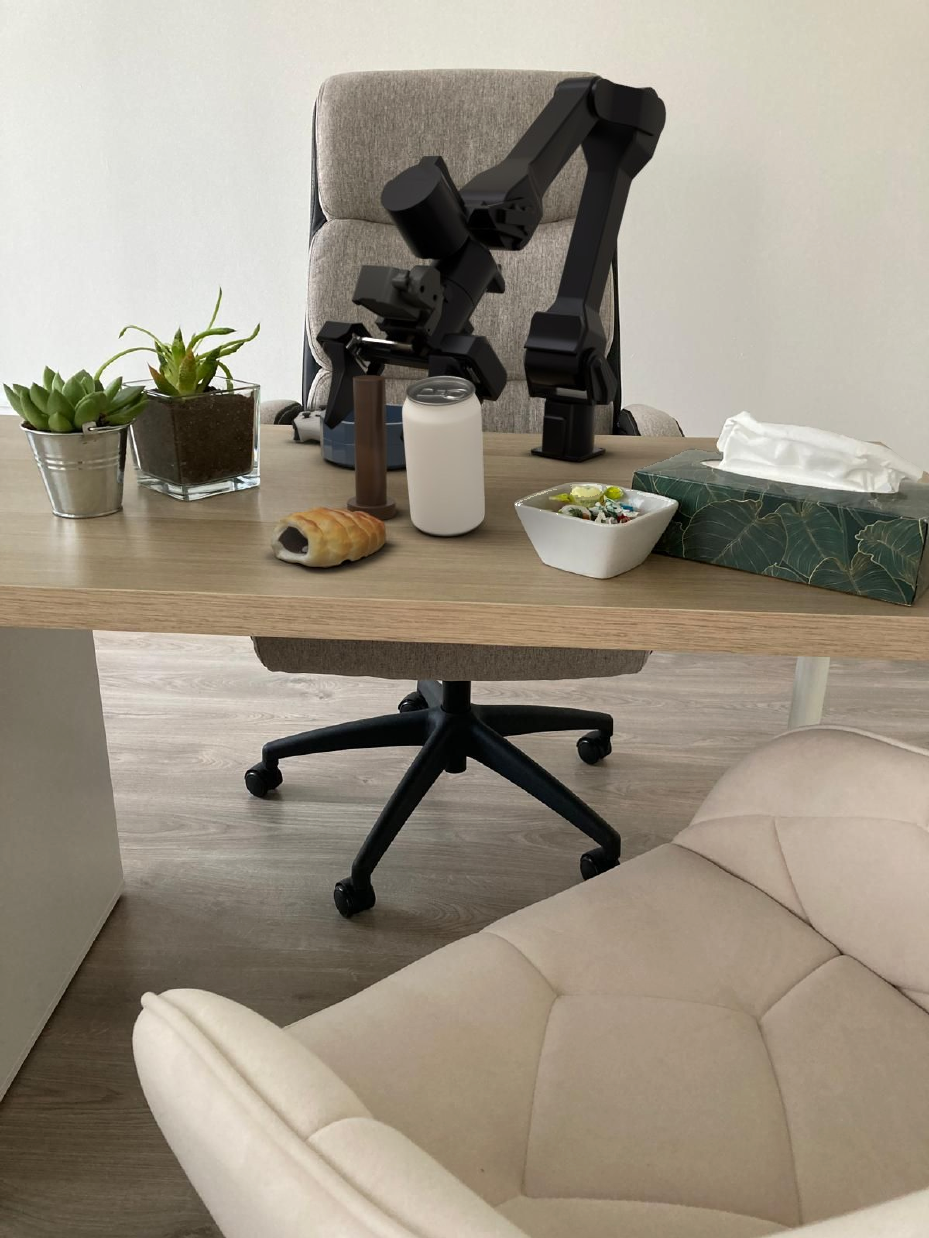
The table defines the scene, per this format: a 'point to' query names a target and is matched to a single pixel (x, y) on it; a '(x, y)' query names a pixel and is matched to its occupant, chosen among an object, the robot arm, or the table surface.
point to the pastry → (327, 536)
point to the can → (444, 455)
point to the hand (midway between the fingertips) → (364, 433)
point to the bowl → (342, 444)
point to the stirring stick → (370, 448)
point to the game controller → (307, 425)
